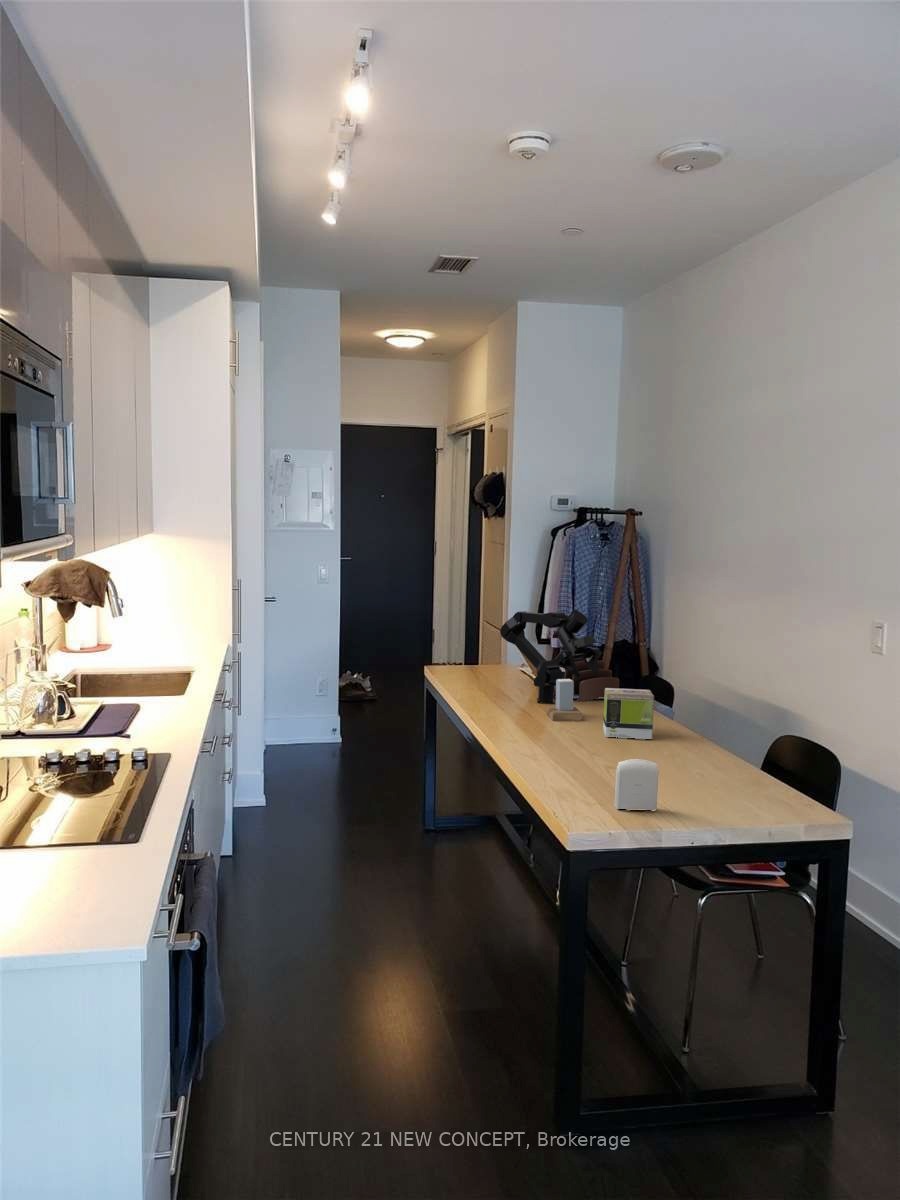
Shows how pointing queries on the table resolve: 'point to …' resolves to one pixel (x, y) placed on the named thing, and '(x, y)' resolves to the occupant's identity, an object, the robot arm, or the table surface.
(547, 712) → the block
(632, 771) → the photo printer
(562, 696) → the tin
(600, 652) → the robot arm
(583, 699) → the letter holder
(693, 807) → the table surface
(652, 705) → the tea box
